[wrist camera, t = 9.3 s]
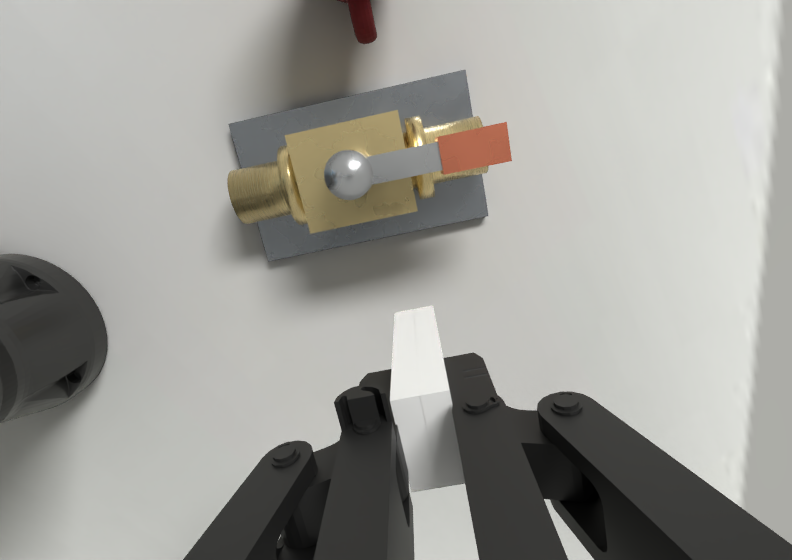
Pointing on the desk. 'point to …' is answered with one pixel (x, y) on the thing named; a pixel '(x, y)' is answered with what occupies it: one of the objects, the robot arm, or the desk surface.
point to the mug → (362, 20)
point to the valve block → (360, 131)
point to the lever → (417, 160)
